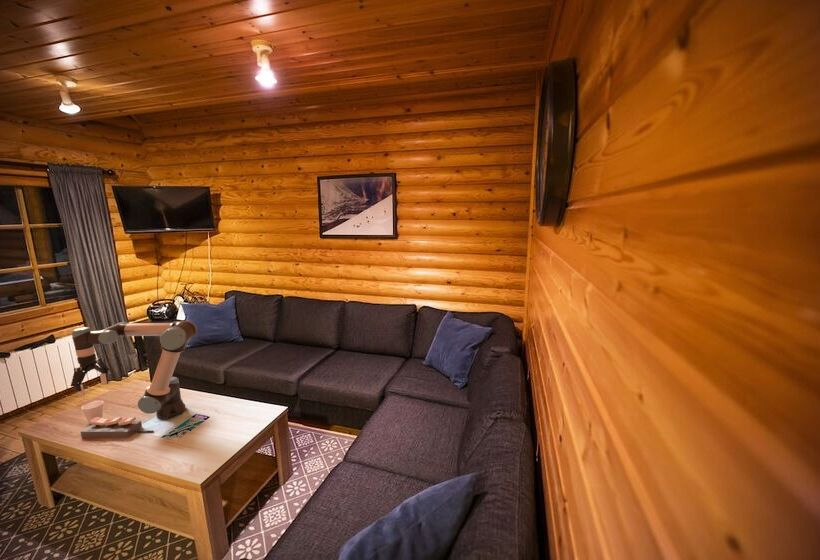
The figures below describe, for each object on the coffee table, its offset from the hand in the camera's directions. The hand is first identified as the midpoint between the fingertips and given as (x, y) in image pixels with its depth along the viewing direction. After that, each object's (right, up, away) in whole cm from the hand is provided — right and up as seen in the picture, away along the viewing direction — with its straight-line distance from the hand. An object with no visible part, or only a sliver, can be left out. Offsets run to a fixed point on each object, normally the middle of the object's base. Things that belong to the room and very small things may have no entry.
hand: (93, 389), depth 190 cm
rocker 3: (+18, -19, +2) cm, 26 cm away
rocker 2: (+10, -19, +2) cm, 21 cm away
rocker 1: (+2, -19, +2) cm, 19 cm away
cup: (-10, -23, +12) cm, 28 cm away
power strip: (+15, -25, +1) cm, 29 cm away
